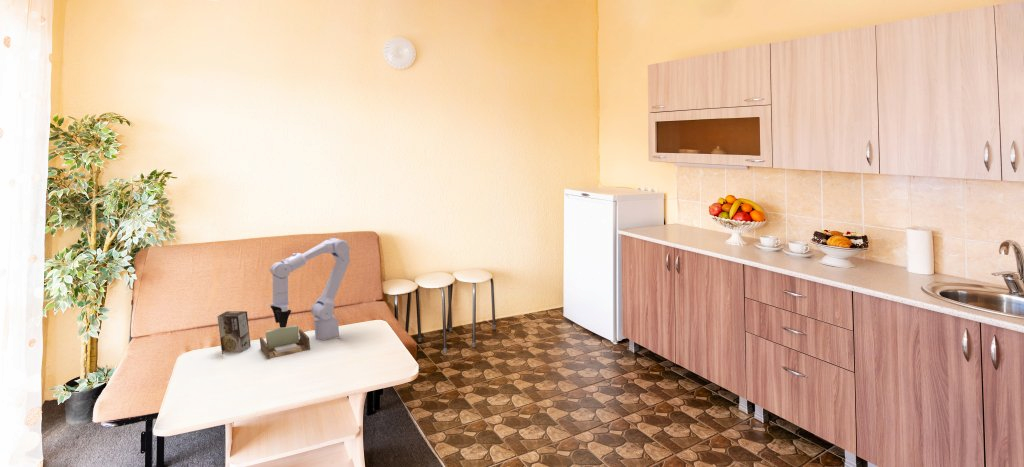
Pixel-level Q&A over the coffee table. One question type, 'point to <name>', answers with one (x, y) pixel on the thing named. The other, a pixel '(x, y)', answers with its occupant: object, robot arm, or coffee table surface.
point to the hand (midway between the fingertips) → (280, 324)
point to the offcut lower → (287, 352)
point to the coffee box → (234, 331)
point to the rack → (268, 352)
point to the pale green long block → (282, 336)
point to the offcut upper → (285, 348)
